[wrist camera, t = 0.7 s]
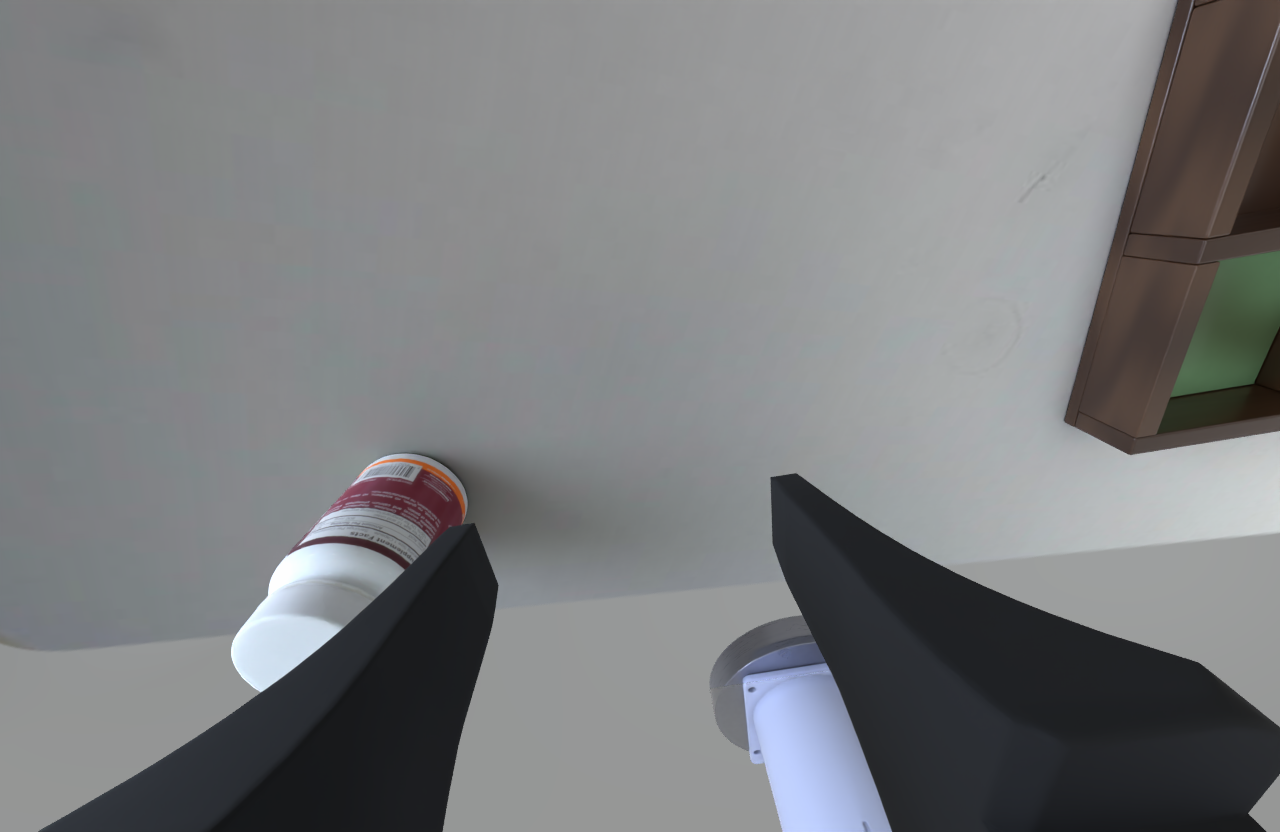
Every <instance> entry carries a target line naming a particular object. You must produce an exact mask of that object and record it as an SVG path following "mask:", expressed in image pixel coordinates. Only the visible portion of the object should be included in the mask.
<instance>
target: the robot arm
mask: <svg viewBox="0 0 1280 832" xmlns="http://www.w3.org/2000/svg"><path fill="white" fill-rule="evenodd" d="M771 505H772V536H773V546H774V549H775V552H776V554H777V557H778V560H779V563H780V566H781V569H782V572H783V574H784V577H785V580H786V582H787V584H788V586H789V589H790V591H791V593H792V594H793V597H794V599H795V601H796V602H797V605H798V607H799V609H800V611H801V613H802V615H803V617H804V619H805V621H806V623H807V625H808V627H809V629H810V631H811V633H812V635H813V637H814V639H815V641H816V643H817V645H818V647H819V649H820V651H821V653H822V655H823V657H824V659H825V661H826V663H822V664H816V665H809V666H803V667H796V668H790V669H783V670H777V671H770V672H763V673H757V674H750V675H747V676H745V677H744V678H743V691H744V701H745V712H746V722H747V732H748V742H749V752H750V759H751V762H753V763H754V764H760V763H765V766H766V770H767V774H768V777H769V782H770V785H771V789H772V793H773V797H774V800H775V804H776V808H777V812H778V816H779V819H780V823H781V827H782V831H783V832H1266V831H1265V830H1264V829H1263V828H1262V827H1261V826H1260V825H1259V824H1258V823H1257V822H1256V821H1255V820H1254V819H1253V818H1252V817H1251V816H1250V815H1249V814H1248V813H1249V811H1250V810H1251V809H1252V808H1253V806H1254V805H1255V804H1256V802H1257V801H1258V800H1259V799H1260V798H1261V797H1262V795H1263V794H1264V793H1265V791H1266V790H1267V789H1268V788H1269V787H1270V785H1271V784H1272V783H1273V782H1274V780H1275V779H1276V778H1277V777H1278V776H1279V774H1280V727H1279V726H1277V725H1276V724H1275V723H1274V722H1272V721H1271V720H1270V719H1269V718H1267V717H1266V716H1265V715H1264V714H1262V713H1261V712H1260V711H1259V710H1258V709H1256V708H1255V707H1254V706H1253V705H1251V704H1250V703H1249V702H1248V701H1246V700H1245V699H1244V698H1243V697H1241V696H1240V695H1239V694H1238V693H1236V692H1235V691H1234V690H1232V689H1231V688H1230V687H1229V686H1228V685H1227V684H1225V683H1224V682H1223V681H1222V680H1220V679H1219V678H1218V677H1217V676H1215V675H1214V674H1213V673H1211V672H1210V671H1209V670H1208V669H1206V668H1205V667H1204V666H1202V665H1201V664H1200V663H1198V662H1195V661H1192V660H1189V659H1186V658H1182V657H1179V656H1176V655H1173V654H1170V653H1166V652H1163V651H1159V650H1157V649H1154V648H1150V647H1147V646H1144V645H1141V644H1137V643H1134V642H1131V641H1128V640H1125V639H1122V638H1118V637H1115V636H1112V635H1109V634H1106V633H1103V632H1100V631H1097V630H1094V629H1091V628H1089V627H1086V626H1083V625H1080V624H1078V623H1075V622H1072V621H1069V620H1067V619H1064V618H1061V617H1058V616H1056V615H1053V614H1050V613H1048V612H1045V611H1042V610H1040V609H1037V608H1035V607H1032V606H1030V605H1027V604H1025V603H1022V602H1020V601H1017V600H1015V599H1012V598H1010V597H1008V596H1006V595H1003V594H1001V593H999V592H996V591H994V590H992V589H989V588H987V587H984V586H982V585H980V584H978V583H976V582H974V581H971V580H969V579H967V578H965V577H963V576H961V575H959V574H956V573H955V572H953V571H951V570H949V569H947V568H945V567H943V566H941V565H939V564H937V563H935V562H933V561H931V560H929V559H927V558H925V557H923V556H921V555H920V554H918V553H916V552H914V551H912V550H911V549H909V548H907V547H905V546H904V545H902V544H900V543H899V542H897V541H895V540H894V539H892V538H890V537H889V536H887V535H885V534H883V533H882V532H880V531H879V530H877V529H875V528H874V527H872V526H871V525H869V524H868V523H866V522H865V521H863V520H861V519H860V518H858V517H857V516H855V515H854V514H853V513H851V512H850V511H848V510H847V509H845V508H844V507H842V506H841V505H839V504H838V503H837V502H835V501H834V500H832V499H831V498H830V497H828V496H827V495H825V494H824V493H823V492H821V491H820V490H819V489H817V488H816V487H814V486H813V485H812V484H810V483H809V482H808V481H806V480H805V479H803V478H802V477H801V476H799V475H798V474H796V473H795V474H789V475H782V476H776V477H771ZM497 592H498V583H497V580H496V578H495V575H494V572H493V570H492V567H491V565H490V562H489V559H488V557H487V554H486V552H485V549H484V546H483V544H482V541H481V539H480V536H479V533H478V531H477V528H476V526H475V523H471V524H465V525H458V526H452V527H449V528H448V529H447V530H446V531H445V532H443V533H442V534H441V535H440V536H439V537H438V538H437V539H436V540H435V541H434V542H433V543H432V544H431V545H430V546H429V547H428V548H427V549H426V550H425V551H424V552H423V553H422V554H421V555H420V556H419V557H418V558H417V559H416V560H415V561H414V562H413V563H412V564H411V565H410V566H409V567H408V568H407V569H406V570H405V571H404V572H403V573H401V574H400V575H399V576H398V577H397V578H396V579H395V580H394V581H393V582H392V583H391V584H390V585H389V586H388V587H387V588H386V589H385V590H384V591H383V592H382V593H381V594H380V595H379V596H378V597H377V598H375V599H374V600H373V601H372V602H371V603H370V604H369V605H368V606H367V607H366V608H365V609H363V610H362V611H361V612H360V613H359V614H358V615H357V616H356V617H355V618H354V619H353V620H351V621H350V622H349V623H348V624H347V625H346V626H345V627H344V628H343V629H341V630H340V631H339V632H338V633H337V634H336V635H334V636H333V637H332V638H331V639H330V640H329V641H327V642H326V643H325V644H324V645H323V646H321V647H320V648H319V649H318V650H316V651H315V652H314V653H313V654H311V655H310V656H309V657H308V658H306V659H305V660H304V661H303V662H301V663H300V664H299V665H298V666H296V667H295V668H294V669H292V670H291V671H290V672H288V673H287V674H286V675H285V676H283V677H282V678H280V679H279V680H278V681H276V682H275V683H273V684H272V685H271V686H269V687H268V688H267V689H265V690H264V691H262V692H261V693H260V694H258V695H257V696H255V697H254V698H253V699H251V700H250V701H249V702H247V703H246V704H244V705H243V706H241V707H240V708H239V709H237V710H236V711H235V712H233V713H232V714H230V715H229V716H227V717H226V718H225V719H223V720H222V721H220V722H219V723H217V724H215V725H214V726H212V727H211V728H209V729H208V730H206V731H205V732H204V733H202V734H200V735H199V736H198V737H196V738H194V739H193V740H191V741H190V742H188V743H187V744H185V745H183V746H182V747H180V748H179V749H177V750H175V751H174V752H172V753H171V754H169V755H168V756H166V757H164V758H163V759H161V760H160V761H158V762H156V763H155V764H153V765H151V766H150V767H148V768H147V769H145V770H143V771H142V772H140V773H138V774H137V775H135V776H134V777H132V778H130V779H128V780H127V781H125V782H123V783H121V784H120V785H118V786H116V787H114V788H113V789H111V790H110V791H108V792H106V793H104V794H102V795H101V796H99V797H97V798H96V799H94V800H92V801H90V802H89V803H87V804H85V805H83V806H82V807H80V808H78V809H77V810H75V811H73V812H71V813H70V814H68V815H66V816H65V817H63V818H61V819H59V820H57V821H56V822H54V823H52V824H50V825H48V826H47V827H45V828H43V829H41V830H40V831H39V832H442V831H443V825H444V819H445V813H446V808H447V802H448V796H449V791H450V786H451V780H452V776H453V770H454V765H455V760H456V755H457V750H458V745H459V741H460V737H461V733H462V729H463V725H464V721H465V718H466V715H467V711H468V707H469V705H470V701H471V698H472V694H473V691H474V687H475V683H476V680H477V677H478V674H479V670H480V667H481V664H482V660H483V657H484V653H485V650H486V646H487V643H488V639H489V636H490V632H491V628H492V624H493V618H494V612H495V606H496V599H497Z"/></svg>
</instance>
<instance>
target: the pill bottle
mask: <svg viewBox="0 0 1280 832" xmlns="http://www.w3.org/2000/svg"><path fill="white" fill-rule="evenodd" d="M467 508H468V501H467V496H466V492H465V489H464V487H463V486H462V484H461V482H460V481H459V479H458V478H457V477H456V476H455V475H454V474H453V473H452V472H451V471H450V470H449V469H448V468H446V467H445V466H443V465H442V464H440V463H439V462H437V461H435V460H433V459H431V458H428V457H425V456H421V455H416V454H407V453H404V454H393V455H389V456H385V457H383V458H381V459H379V460H377V461H375V462H373V463H372V464H371V465H369V466H368V467H367V468H366V469H365V470H364V471H363V472H362V473H361V474H360V475H359V476H358V477H357V478H356V479H355V481H354V482H353V484H352V485H351V486H350V487H349V488H348V489H347V490H346V491H345V492H344V493H343V494H342V496H341V497H340V498H339V499H338V500H337V501H336V502H335V503H334V504H333V505H332V506H331V507H330V508H329V510H328V511H327V512H326V513H325V514H324V515H323V516H322V517H321V518H320V519H319V520H318V521H317V523H316V524H315V525H314V526H313V527H312V528H311V530H310V531H309V532H308V533H307V534H305V535H304V537H303V538H302V539H301V540H300V541H299V542H298V543H297V544H296V545H295V546H294V547H293V548H292V550H291V551H290V552H289V553H288V555H287V556H286V557H285V559H284V560H283V561H282V562H281V563H280V565H279V566H278V567H277V569H276V570H275V572H274V574H273V576H272V578H271V581H270V585H269V596H268V597H267V598H266V599H265V600H264V601H263V602H262V603H261V604H260V605H259V607H258V608H257V610H256V611H255V612H254V613H253V615H252V616H251V617H250V618H249V620H248V621H247V622H246V623H245V624H244V626H243V627H242V628H241V630H240V631H239V632H238V633H237V635H236V637H235V639H234V641H233V644H232V653H231V654H232V660H233V663H234V665H235V667H236V669H237V671H238V672H239V673H240V675H241V676H242V678H243V679H244V680H245V681H247V682H248V683H249V684H250V685H251V686H252V687H254V688H255V689H257V690H259V691H260V692H262V691H264V690H265V689H267V688H268V687H269V686H271V685H272V684H273V683H275V682H276V681H278V680H279V679H280V678H282V677H283V676H285V675H286V674H287V673H288V672H290V671H291V670H292V669H294V668H295V667H296V666H298V665H299V664H300V663H301V662H303V661H304V660H305V659H306V658H308V657H309V656H310V655H311V654H313V653H314V652H315V651H316V650H318V649H319V648H320V647H321V646H323V645H324V644H325V643H326V642H327V641H329V640H330V639H331V638H332V637H333V636H334V635H336V634H337V633H338V632H339V631H340V630H341V629H343V628H344V627H345V626H346V625H347V624H348V623H349V622H350V621H351V620H353V619H354V618H355V617H356V616H357V615H358V614H359V613H360V612H361V611H362V610H363V609H365V608H366V607H367V606H368V605H369V604H370V603H371V602H372V601H373V600H374V599H375V598H377V597H378V596H379V595H380V594H381V593H382V592H383V591H384V590H385V589H386V588H387V587H388V586H389V585H390V584H391V583H392V582H393V581H394V580H395V579H396V578H397V577H398V576H399V575H400V574H401V573H403V572H404V571H405V570H406V569H407V568H408V567H409V566H410V565H411V564H412V563H413V562H414V561H415V560H416V559H417V558H418V557H419V556H420V555H421V554H422V553H423V552H424V551H425V550H426V549H427V548H428V547H429V546H430V545H431V544H432V543H433V542H434V541H435V540H436V539H437V538H438V537H439V536H440V535H441V534H442V533H443V532H445V531H446V530H447V529H448V528H449V527H452V526H458V525H462V523H463V521H464V519H465V516H466V513H467Z"/></svg>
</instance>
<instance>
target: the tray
mask: <svg viewBox="0 0 1280 832" xmlns="http://www.w3.org/2000/svg"><path fill="white" fill-rule="evenodd" d="M1065 423H1067V424H1069V425H1071V426H1075V427H1076V428H1078V429H1080V430H1082V431H1084V432H1086V433H1088V434H1090V435H1092V436H1094V437H1095V438H1097V439H1099V440H1101V441H1103V442H1105V443H1107V444H1109V445H1111V446H1113V447H1115V448H1117V449H1119V450H1121V451H1123V452H1125V453H1127V454H1129V455H1133V454H1140V453H1146V452H1152V451H1158V450H1165V449H1171V448H1177V447H1183V446H1189V445H1196V444H1202V443H1208V442H1214V441H1221V440H1227V439H1233V438H1239V437H1245V436H1252V435H1258V434H1264V433H1270V432H1277V431H1280V0H1179V1H1178V5H1177V8H1176V12H1175V16H1174V19H1173V23H1172V27H1171V30H1170V34H1169V38H1168V42H1167V45H1166V49H1165V53H1164V56H1163V60H1162V64H1161V67H1160V71H1159V75H1158V78H1157V82H1156V86H1155V89H1154V93H1153V97H1152V100H1151V104H1150V108H1149V112H1148V115H1147V119H1146V123H1145V126H1144V130H1143V134H1142V137H1141V141H1140V145H1139V148H1138V152H1137V156H1136V159H1135V163H1134V167H1133V171H1132V174H1131V178H1130V182H1129V185H1128V189H1127V193H1126V196H1125V200H1124V204H1123V207H1122V211H1121V215H1120V218H1119V222H1118V226H1117V229H1116V233H1115V237H1114V241H1113V244H1112V248H1111V252H1110V255H1109V259H1108V263H1107V266H1106V270H1105V274H1104V277H1103V281H1102V285H1101V288H1100V292H1099V296H1098V299H1097V303H1096V307H1095V311H1094V314H1093V318H1092V322H1091V325H1090V329H1089V333H1088V336H1087V340H1086V344H1085V347H1084V351H1083V355H1082V358H1081V362H1080V366H1079V370H1078V373H1077V377H1076V381H1075V384H1074V388H1073V392H1072V395H1071V399H1070V403H1069V406H1068V410H1067V414H1066V417H1065Z"/></svg>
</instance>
